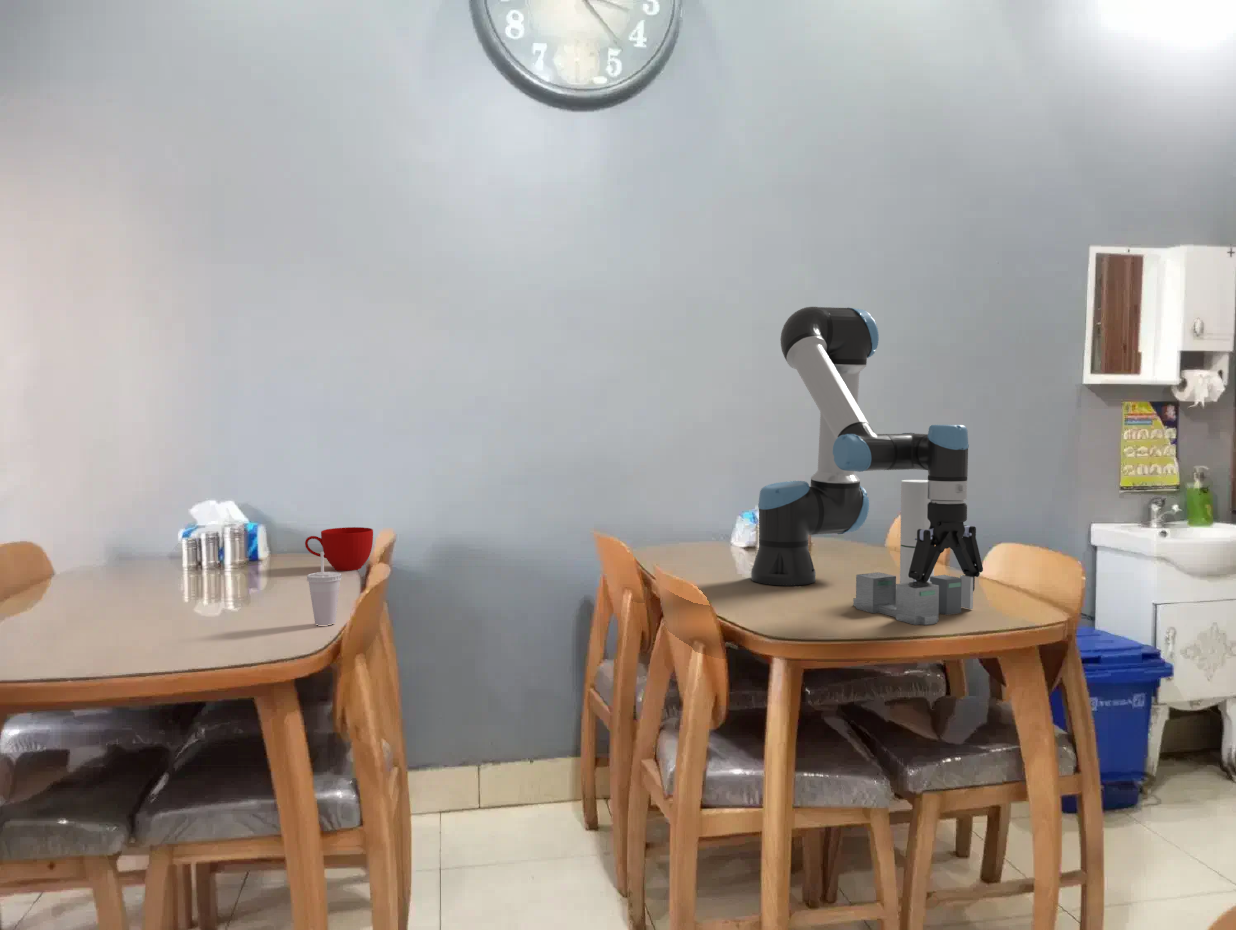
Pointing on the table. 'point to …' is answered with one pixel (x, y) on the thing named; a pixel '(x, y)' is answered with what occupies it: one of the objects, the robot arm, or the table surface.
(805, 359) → the robot arm
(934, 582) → the block
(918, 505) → the cylindrical container
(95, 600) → the table surface
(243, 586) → the table surface
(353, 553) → the ceramic cup
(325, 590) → the smoothie
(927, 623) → the grey stepped block assembly
